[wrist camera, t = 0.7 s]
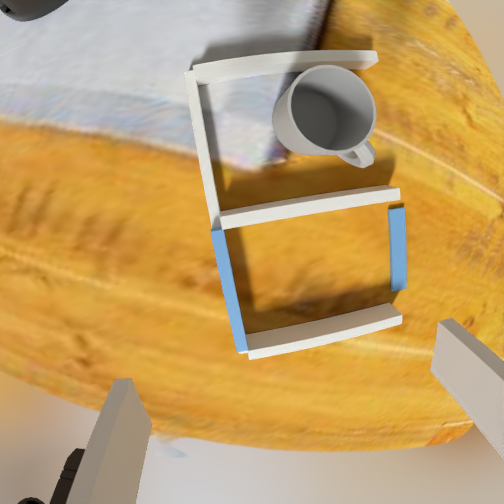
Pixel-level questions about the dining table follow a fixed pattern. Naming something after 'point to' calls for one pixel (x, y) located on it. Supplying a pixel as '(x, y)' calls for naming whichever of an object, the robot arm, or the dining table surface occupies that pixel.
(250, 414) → the dining table surface
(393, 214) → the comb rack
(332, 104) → the cup
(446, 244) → the dining table surface
